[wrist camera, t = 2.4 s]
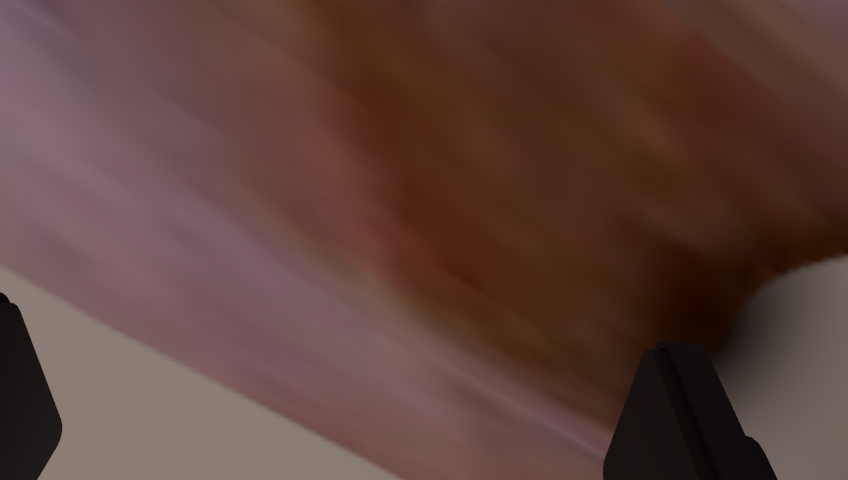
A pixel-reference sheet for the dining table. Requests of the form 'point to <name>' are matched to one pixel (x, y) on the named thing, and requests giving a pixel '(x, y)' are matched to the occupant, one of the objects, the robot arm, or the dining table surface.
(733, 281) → the dining table surface
